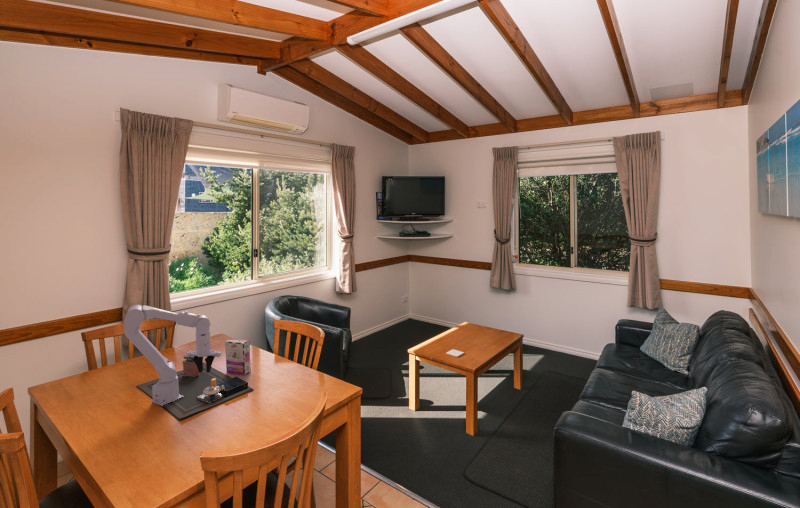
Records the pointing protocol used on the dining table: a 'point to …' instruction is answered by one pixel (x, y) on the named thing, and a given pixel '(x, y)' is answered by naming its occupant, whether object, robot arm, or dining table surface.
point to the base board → (211, 396)
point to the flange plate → (212, 388)
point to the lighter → (190, 367)
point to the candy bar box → (238, 356)
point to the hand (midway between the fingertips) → (204, 371)
